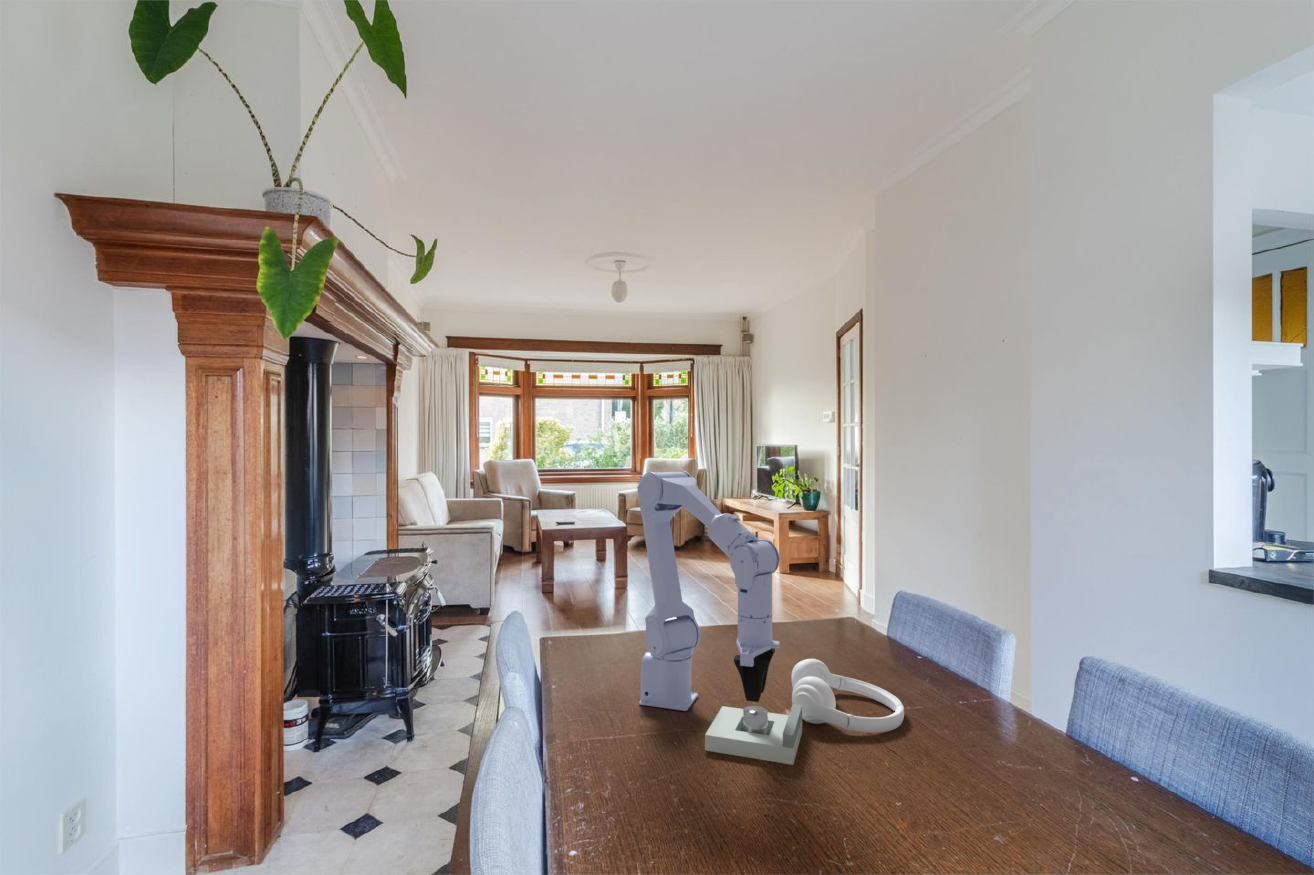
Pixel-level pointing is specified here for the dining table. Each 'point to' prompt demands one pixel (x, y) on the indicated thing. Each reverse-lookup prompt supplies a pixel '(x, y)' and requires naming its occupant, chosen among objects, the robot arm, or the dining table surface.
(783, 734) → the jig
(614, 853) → the dining table surface
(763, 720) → the peg
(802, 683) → the headphones
